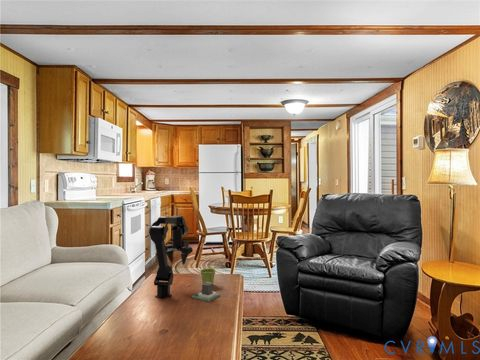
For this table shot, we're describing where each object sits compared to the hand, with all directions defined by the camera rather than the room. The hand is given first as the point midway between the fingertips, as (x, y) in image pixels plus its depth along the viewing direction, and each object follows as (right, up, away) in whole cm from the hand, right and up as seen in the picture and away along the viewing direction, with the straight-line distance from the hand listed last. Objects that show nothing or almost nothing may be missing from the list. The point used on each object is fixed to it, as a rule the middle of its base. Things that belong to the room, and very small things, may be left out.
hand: (177, 263), depth 206 cm
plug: (+19, -12, -20) cm, 30 cm away
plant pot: (+18, -13, +1) cm, 22 cm away
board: (+18, -13, -19) cm, 30 cm away
